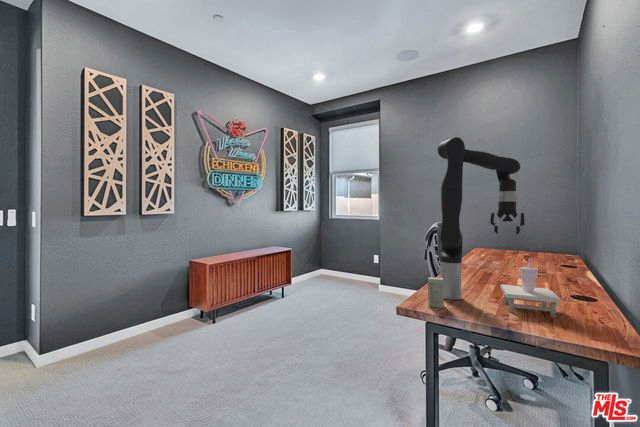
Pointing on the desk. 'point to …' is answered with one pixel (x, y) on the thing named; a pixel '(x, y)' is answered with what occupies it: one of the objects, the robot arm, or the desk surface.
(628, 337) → the desk surface
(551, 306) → the footstool
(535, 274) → the smoothie
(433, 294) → the skincare box
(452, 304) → the desk surface
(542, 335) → the desk surface
